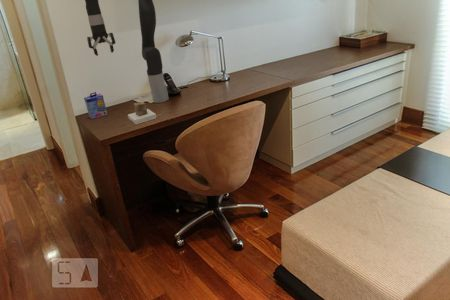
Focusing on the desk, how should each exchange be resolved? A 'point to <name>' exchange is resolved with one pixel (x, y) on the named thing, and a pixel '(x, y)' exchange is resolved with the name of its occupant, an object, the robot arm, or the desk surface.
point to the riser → (142, 117)
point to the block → (140, 108)
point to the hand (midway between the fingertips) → (104, 53)
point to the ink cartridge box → (95, 105)
